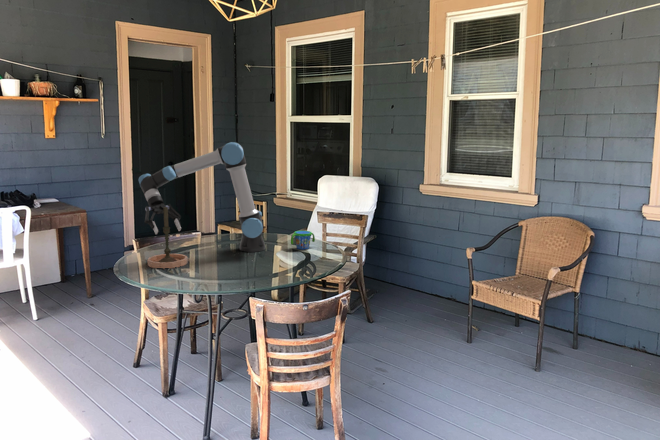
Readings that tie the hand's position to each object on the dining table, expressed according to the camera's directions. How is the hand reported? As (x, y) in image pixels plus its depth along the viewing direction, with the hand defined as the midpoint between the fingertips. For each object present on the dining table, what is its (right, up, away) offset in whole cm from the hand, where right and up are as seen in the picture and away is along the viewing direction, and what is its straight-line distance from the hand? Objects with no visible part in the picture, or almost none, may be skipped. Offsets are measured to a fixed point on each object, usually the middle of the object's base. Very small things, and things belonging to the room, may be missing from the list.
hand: (168, 231), depth 274 cm
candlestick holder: (-2, -17, +5) cm, 17 cm away
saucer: (-2, -17, +5) cm, 18 cm away
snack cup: (+68, -12, +43) cm, 81 cm away
